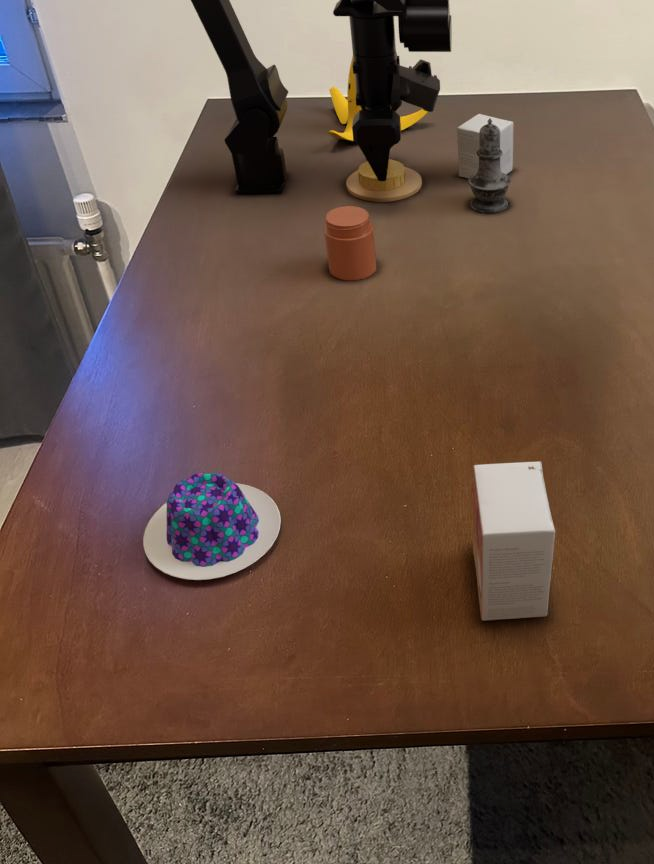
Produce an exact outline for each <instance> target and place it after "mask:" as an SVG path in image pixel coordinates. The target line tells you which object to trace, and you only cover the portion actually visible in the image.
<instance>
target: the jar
mask: <svg viewBox="0 0 654 864" xmlns="http://www.w3.org/2000/svg"><path fill="white" fill-rule="evenodd" d="M370 217H371V215H370V214H369V212H368V211H367V210H366V209H365V208H363V207H359V206H354V205H346V206H339V207H336V208H335V207H334V208H333V209H331V210H329V211H328V212H327V213H326V214H325V222H324V223H325V226H324V229H323V232H324V241H325V248H326V256H327V264H328V269H329V270H328V271H329V273H330V274H331V276H332V277H334V278H336V279H339V280H342V281H360V280H364V279H366V278H368V277H370V276H372V275H373V274H374V273H376V271H377V268H378V265H377V255H376V244H375V233H374V232H375V231H374V225H373V224H372V222H371V221H370Z"/></svg>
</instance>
